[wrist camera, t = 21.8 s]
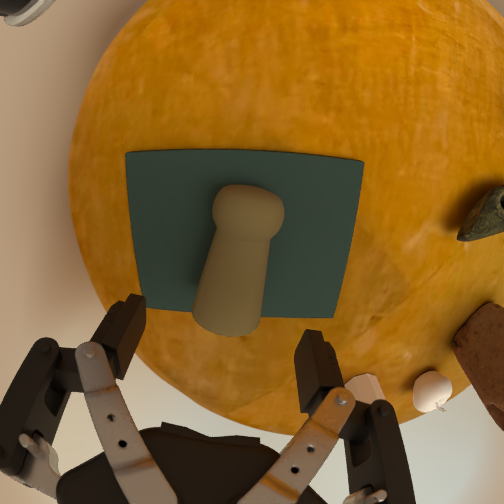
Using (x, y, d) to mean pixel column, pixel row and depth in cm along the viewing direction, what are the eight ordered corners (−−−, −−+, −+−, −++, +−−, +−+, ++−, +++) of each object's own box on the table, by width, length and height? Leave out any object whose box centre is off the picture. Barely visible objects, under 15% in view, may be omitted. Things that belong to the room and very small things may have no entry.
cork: (254, 297, 27) (283, 187, 22) (265, 338, 21) (306, 207, 17) (192, 290, 25) (211, 173, 21) (190, 333, 20) (211, 190, 16)
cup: (385, 382, 35) (405, 440, 25) (348, 400, 36) (361, 459, 27) (373, 363, 32) (396, 429, 22) (331, 384, 34) (345, 451, 24)
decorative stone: (487, 148, 19) (517, 158, 15) (511, 188, 21) (538, 202, 16) (442, 227, 23) (469, 247, 19) (471, 258, 25) (494, 279, 20)
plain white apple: (441, 377, 35) (457, 410, 28) (407, 395, 37) (420, 430, 30) (442, 357, 33) (462, 393, 26) (405, 377, 34) (421, 416, 27)
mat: (147, 302, 28) (144, 307, 27) (129, 151, 21) (124, 153, 20) (331, 312, 28) (333, 318, 27) (360, 160, 21) (364, 162, 20)
